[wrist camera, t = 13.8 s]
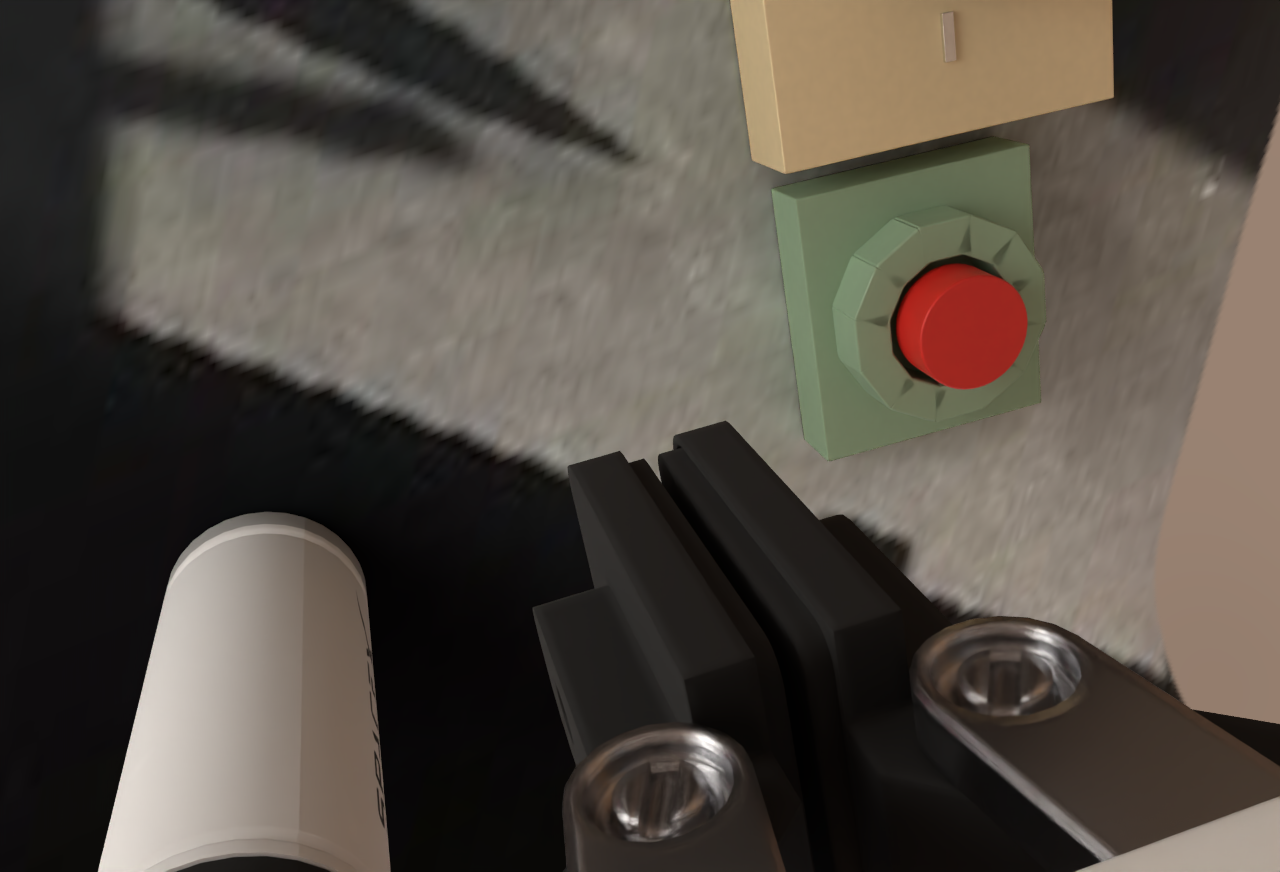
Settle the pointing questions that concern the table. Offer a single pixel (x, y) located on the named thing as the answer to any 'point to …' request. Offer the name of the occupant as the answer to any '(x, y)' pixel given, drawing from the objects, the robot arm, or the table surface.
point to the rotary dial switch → (909, 70)
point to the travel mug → (256, 713)
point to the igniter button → (961, 325)
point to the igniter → (901, 287)
